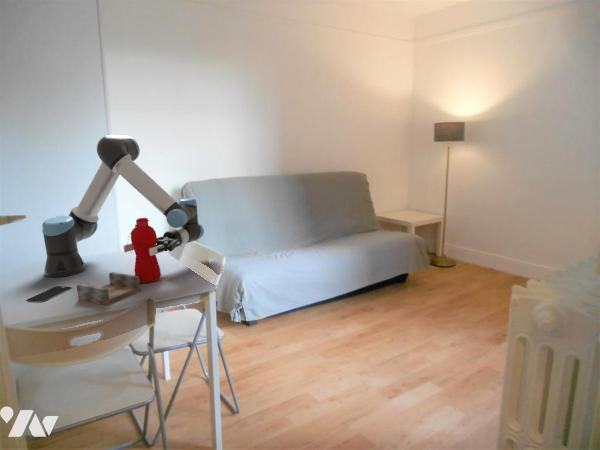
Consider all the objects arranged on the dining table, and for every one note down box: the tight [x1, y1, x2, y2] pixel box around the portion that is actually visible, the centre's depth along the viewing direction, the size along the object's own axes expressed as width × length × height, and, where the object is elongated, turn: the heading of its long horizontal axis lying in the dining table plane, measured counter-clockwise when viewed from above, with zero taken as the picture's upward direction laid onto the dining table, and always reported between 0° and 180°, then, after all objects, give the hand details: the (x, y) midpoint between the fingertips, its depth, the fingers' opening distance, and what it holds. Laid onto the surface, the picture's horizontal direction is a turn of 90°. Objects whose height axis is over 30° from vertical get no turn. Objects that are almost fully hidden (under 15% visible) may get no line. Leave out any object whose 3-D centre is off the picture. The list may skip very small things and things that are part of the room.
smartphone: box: [25, 285, 73, 303], centre depth 151 cm, size 8×1×15 cm
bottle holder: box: [76, 271, 141, 306], centre depth 148 cm, size 14×15×6 cm
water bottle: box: [126, 217, 162, 284], centre depth 161 cm, size 9×11×25 cm
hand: (136, 250), depth 158 cm, fingers open, 13 cm apart
